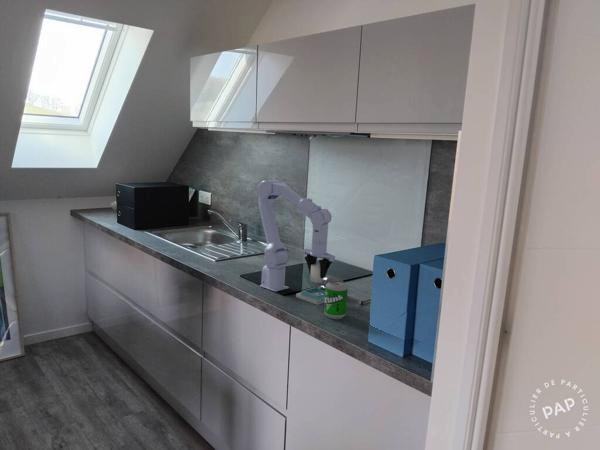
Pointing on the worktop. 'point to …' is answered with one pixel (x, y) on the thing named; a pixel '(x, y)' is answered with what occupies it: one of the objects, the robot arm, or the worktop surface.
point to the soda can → (335, 299)
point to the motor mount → (316, 291)
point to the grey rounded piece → (315, 273)
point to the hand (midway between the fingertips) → (317, 276)
